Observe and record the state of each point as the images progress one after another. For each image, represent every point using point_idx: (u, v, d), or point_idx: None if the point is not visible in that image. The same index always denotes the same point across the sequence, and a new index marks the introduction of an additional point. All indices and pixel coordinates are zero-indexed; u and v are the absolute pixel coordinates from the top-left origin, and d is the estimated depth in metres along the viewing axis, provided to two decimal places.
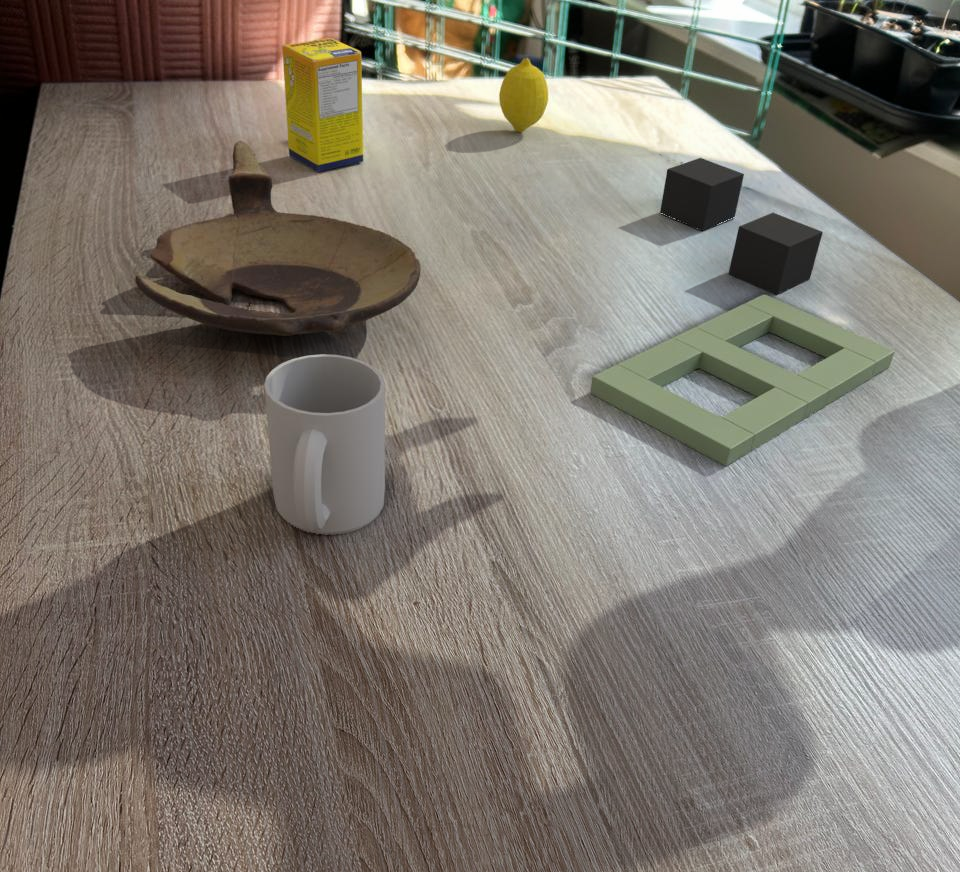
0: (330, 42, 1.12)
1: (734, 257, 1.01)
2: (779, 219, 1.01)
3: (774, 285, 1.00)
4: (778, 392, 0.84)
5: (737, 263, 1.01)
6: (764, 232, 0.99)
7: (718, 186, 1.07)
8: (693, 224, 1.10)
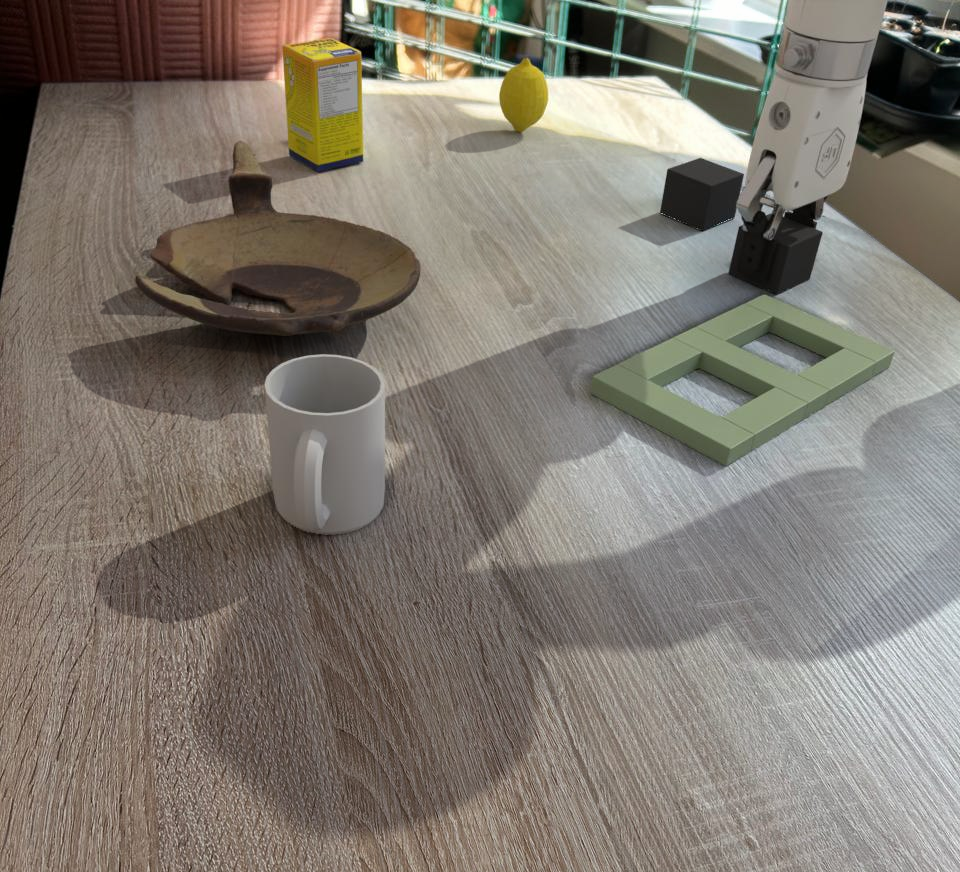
0: (330, 42, 1.12)
1: (734, 257, 1.01)
2: None
3: (774, 285, 1.00)
4: (778, 392, 0.84)
5: (737, 263, 1.01)
6: None
7: (718, 186, 1.07)
8: (693, 224, 1.10)
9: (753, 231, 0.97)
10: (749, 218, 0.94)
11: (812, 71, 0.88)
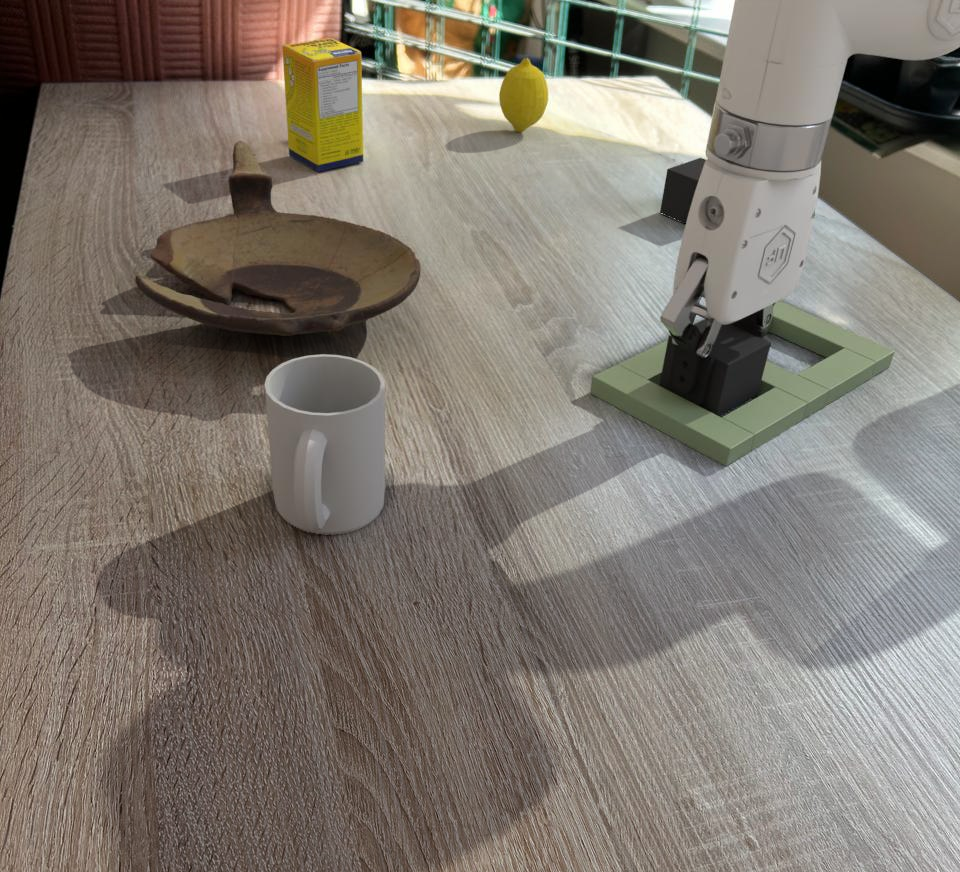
0: (330, 42, 1.12)
1: (665, 371, 0.83)
2: None
3: (712, 407, 0.82)
4: (778, 392, 0.84)
5: (668, 378, 0.84)
6: None
7: None
8: None
9: (684, 346, 0.79)
10: (677, 334, 0.76)
11: (750, 160, 0.70)
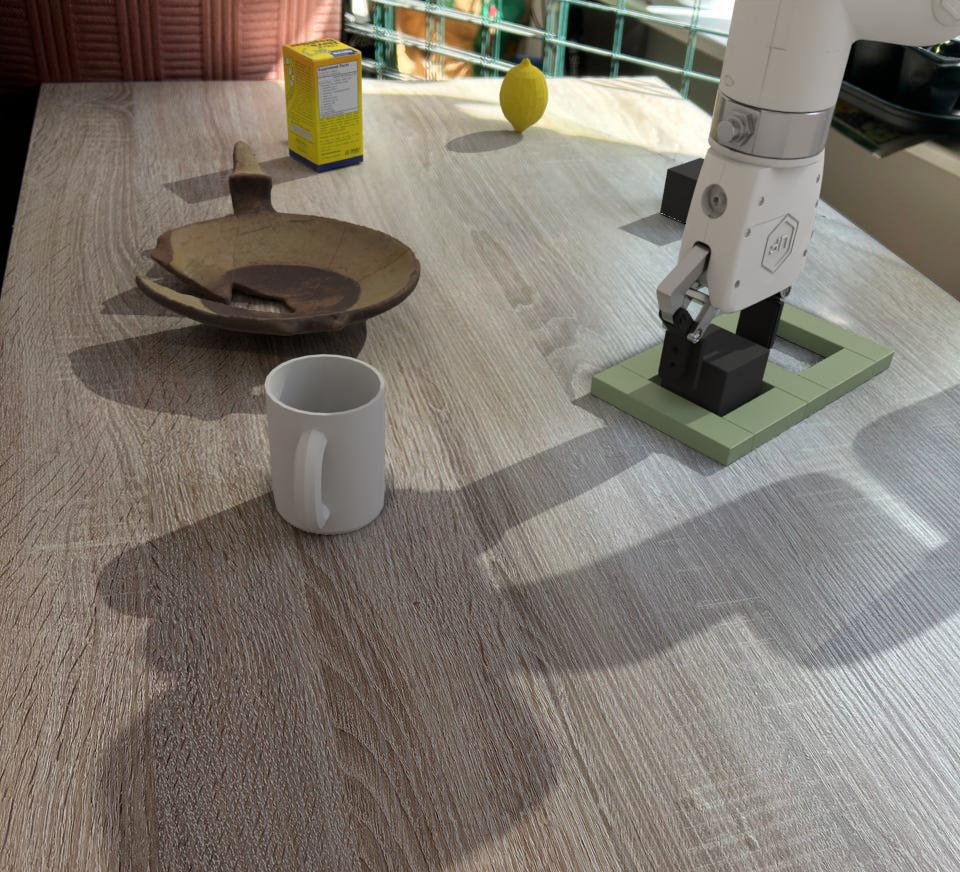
0: (330, 42, 1.12)
1: None
2: (719, 332, 0.84)
3: None
4: (778, 392, 0.84)
5: (668, 386, 0.84)
6: None
7: None
8: None
9: (675, 331, 0.77)
10: (669, 312, 0.74)
11: (753, 148, 0.69)
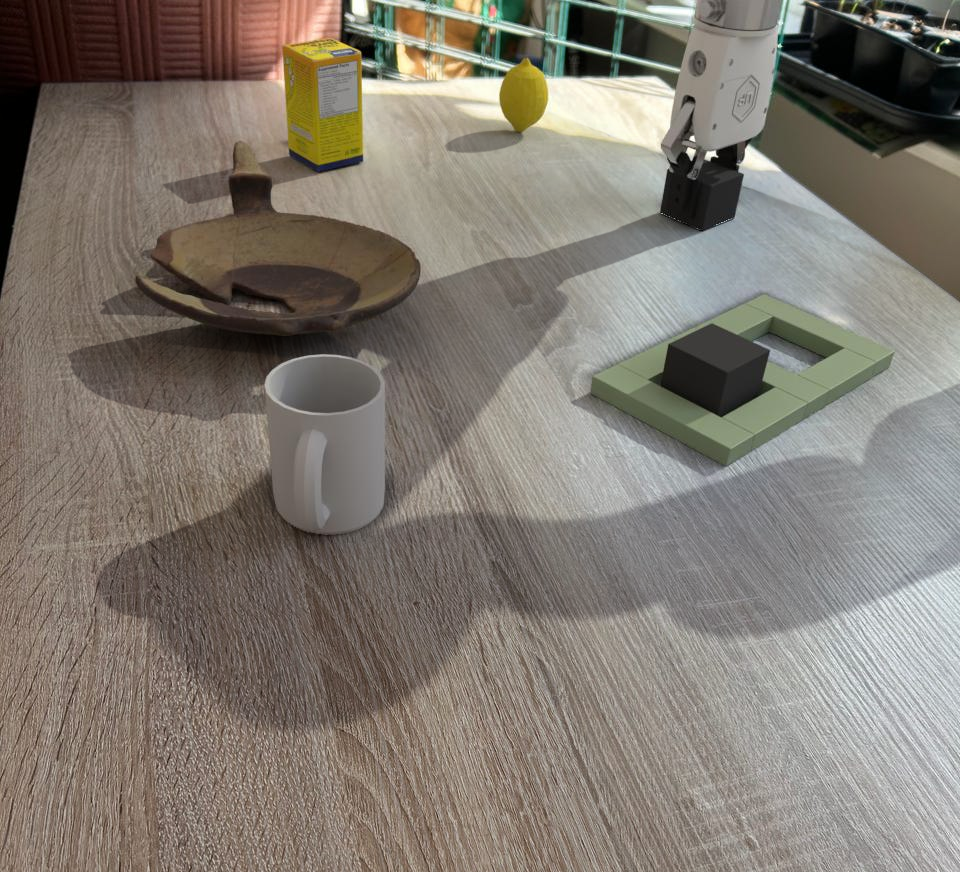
0: (330, 42, 1.12)
1: (664, 378, 0.84)
2: (719, 332, 0.84)
3: None
4: (778, 392, 0.84)
5: (668, 386, 0.84)
6: (698, 351, 0.82)
7: (718, 186, 1.07)
8: (693, 224, 1.10)
9: (678, 171, 1.06)
10: (673, 158, 1.04)
11: (724, 22, 0.97)
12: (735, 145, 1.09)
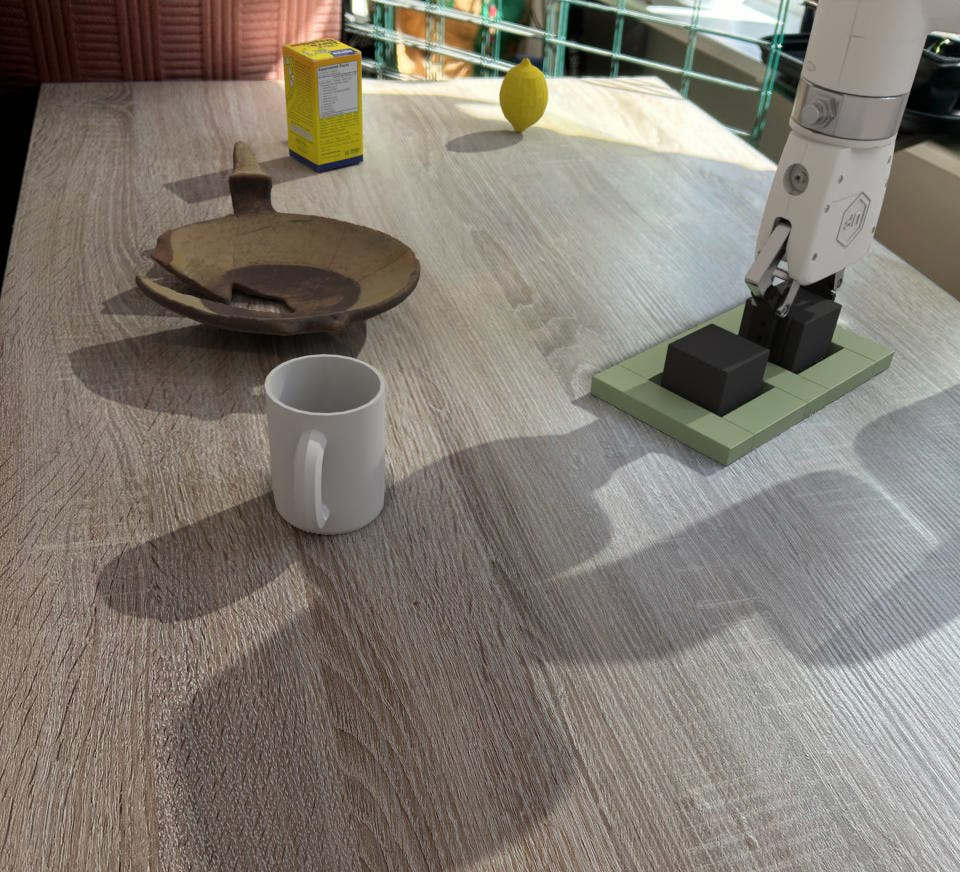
0: (330, 42, 1.12)
1: (664, 378, 0.84)
2: (719, 332, 0.84)
3: None
4: (778, 392, 0.84)
5: (668, 386, 0.84)
6: (698, 351, 0.82)
7: (812, 323, 0.85)
8: None
9: (764, 307, 0.84)
10: (759, 294, 0.82)
11: (834, 129, 0.75)
12: None
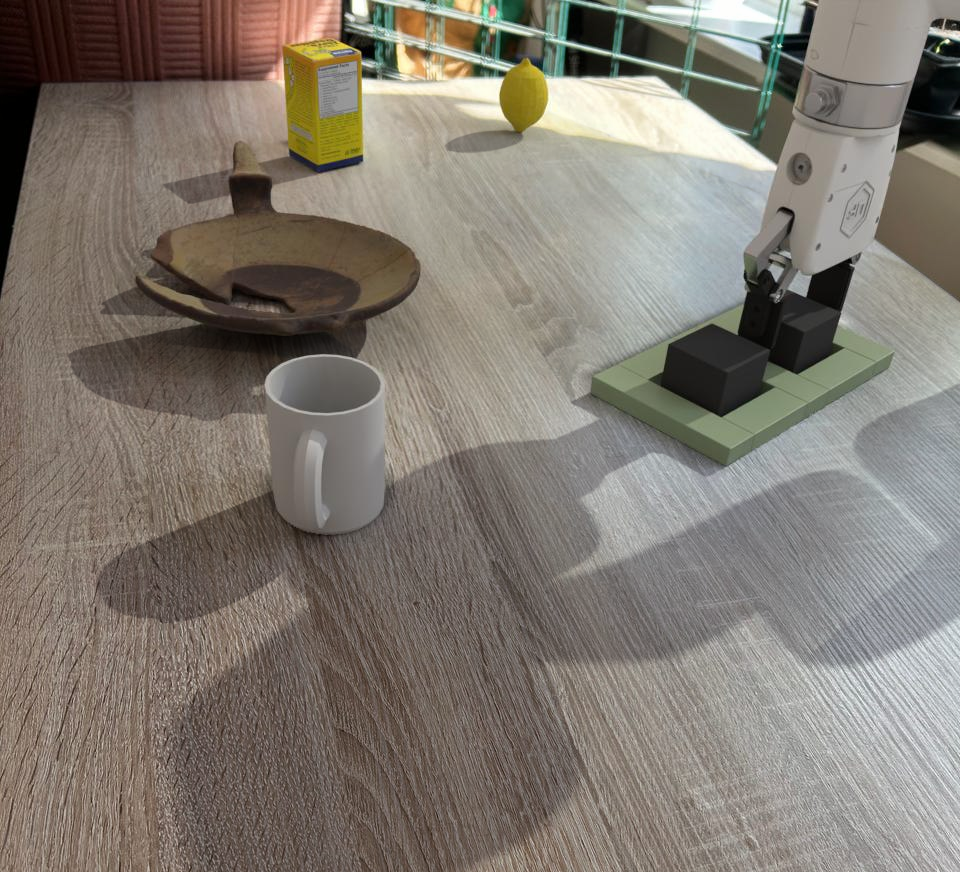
0: (330, 42, 1.12)
1: (664, 378, 0.84)
2: (719, 332, 0.84)
3: None
4: (778, 392, 0.84)
5: (668, 386, 0.84)
6: (698, 351, 0.82)
7: (811, 331, 0.86)
8: None
9: (757, 292, 0.82)
10: (754, 273, 0.80)
11: (838, 118, 0.75)
12: None
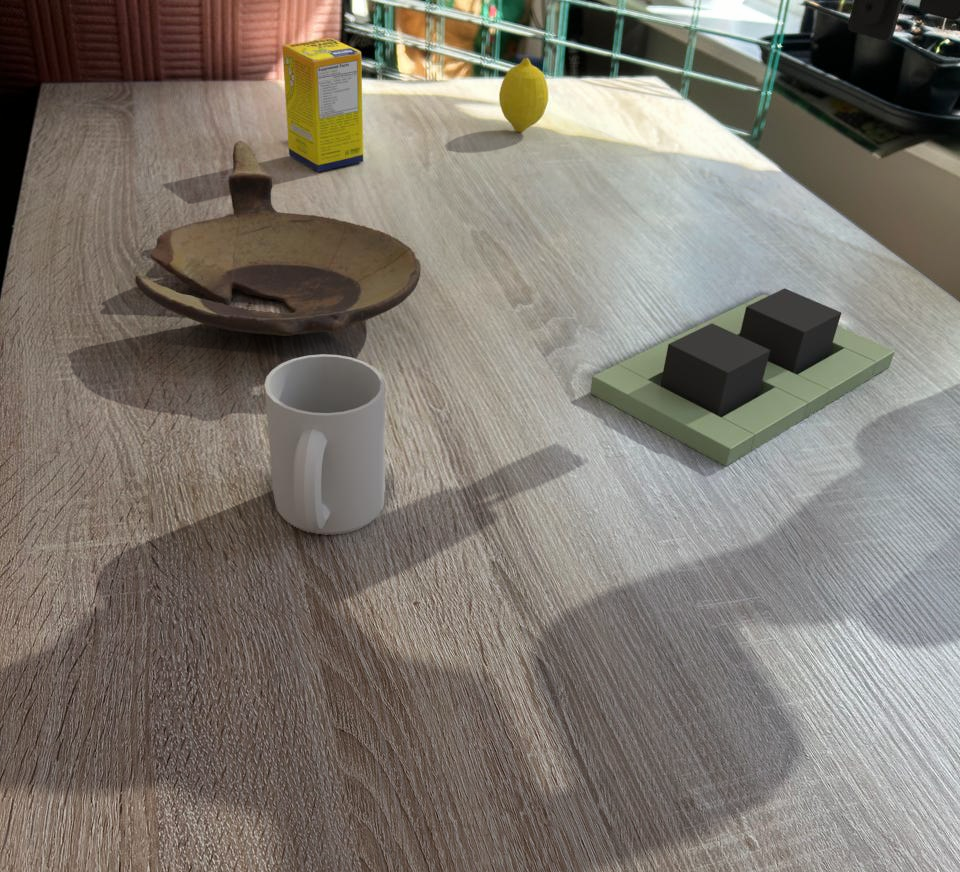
0: (330, 42, 1.12)
1: (664, 378, 0.84)
2: (719, 332, 0.84)
3: None
4: (778, 392, 0.84)
5: (668, 386, 0.84)
6: (698, 351, 0.82)
7: (811, 331, 0.86)
8: None
9: None
10: None
11: None
12: None
